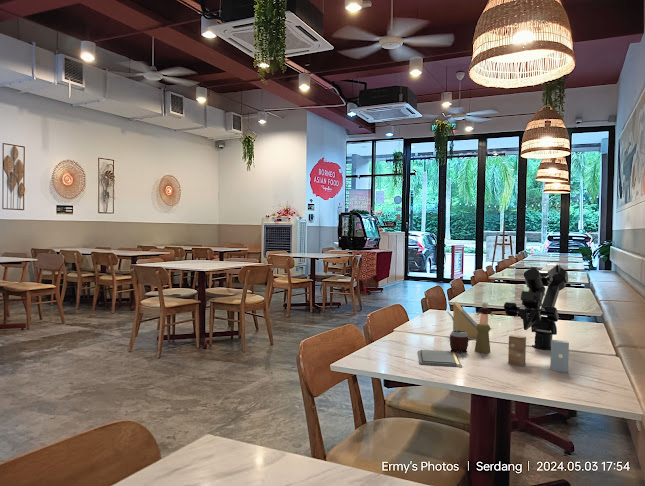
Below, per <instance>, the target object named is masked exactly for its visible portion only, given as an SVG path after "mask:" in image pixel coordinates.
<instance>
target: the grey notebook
mask: <svg viewBox="0 0 645 486" xmlns="http://www.w3.org/2000/svg"><path fill="white" fill-rule="evenodd" d="M417 358H418V365H420V366H428V367H429V366H431V367H447V368H461V369H462V368H463V365H462V364H461V362H460V359H459V357H458V355H457V352H451V350H450V351H449V350H436V349H434V350H433V349H420V350H418V351H417Z"/></svg>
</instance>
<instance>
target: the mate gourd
mask: <svg viewBox="0 0 645 486" xmlns="http://www.w3.org/2000/svg"><path fill="white" fill-rule="evenodd" d="M446 313H447V314H448V315H449V316H450V317H451V320H452V323H453V322H454V326H455V329H456V330H454V331H453V330H452V331H451V332H450V335H449V345H450V351H451V352H452V353H458V355H461V353H465V354H466V353H468V346H469V342H470V341H469V337H468V335H467V333H466V332H465V331H460V330H457V328H456V324H455V321H454V318H453V314H451V313H450V312H449V311H447V312H446Z"/></svg>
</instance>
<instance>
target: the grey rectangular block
mask: <svg viewBox="0 0 645 486" xmlns="http://www.w3.org/2000/svg"><path fill="white" fill-rule="evenodd" d="M569 350H570V342H568V340H560V339H552V340H551V349H550V370H551V371H553V372H562V373H569V357H570V354H569Z"/></svg>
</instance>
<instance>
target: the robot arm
mask: <svg viewBox="0 0 645 486" xmlns="http://www.w3.org/2000/svg"><path fill="white" fill-rule="evenodd" d="M523 278H524V282H525V285H526V287H527V288H528V291H525V290H522V291H521V294H520V300H521V305H519V306H517V302H510V301H506V302H504V304H503V309H504V312H505V315H506V316H507V317H514V318H515V317H517V316H518V315H519V318H520V319H521V320H522V324H523V325H522V326H523V330H524V331H528V329H529V328H531V333H534V334H535V335H534V344H532V345H531V347H533V348H537V349H540V350H544V351H547V350H551V340H553V336H554V335H555V336H557V334H558V328H557V324H556V323H557V322H558V320H559V312H558V308H557V307H555V306H556V303H557V299H558V297H559V293H560V291H561V290H563V289H564V288H566V286H567V284H568V282H569V274H568V272H567V270H565V268H562V267H561V264H560V263H554V262H553V263H550V262H548V263H546V265H545V266H544V267H543V268H542V269H540V270H539V269H538V267H537V266H535V267H534V266H531V268H529V269H527V270H525V271H523ZM546 287H547V289H546Z"/></svg>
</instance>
